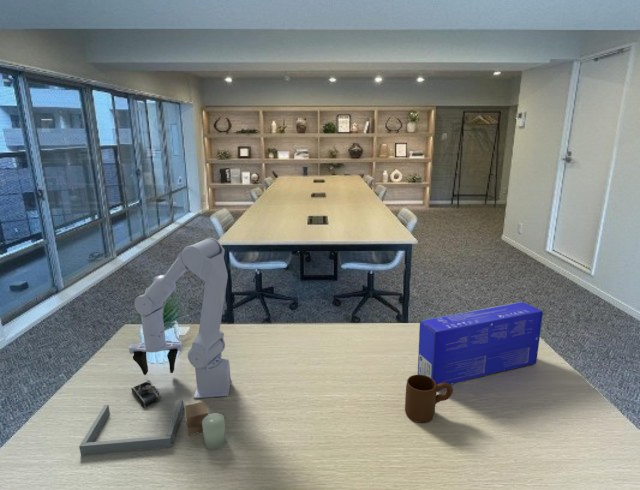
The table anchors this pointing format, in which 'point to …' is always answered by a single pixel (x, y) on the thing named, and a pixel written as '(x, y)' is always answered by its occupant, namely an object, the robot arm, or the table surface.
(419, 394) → the mug
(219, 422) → the rounded green capsule
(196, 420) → the walnut block
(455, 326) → the toner cartridge box
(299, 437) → the table surface
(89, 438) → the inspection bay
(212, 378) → the robot arm
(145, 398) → the camera
